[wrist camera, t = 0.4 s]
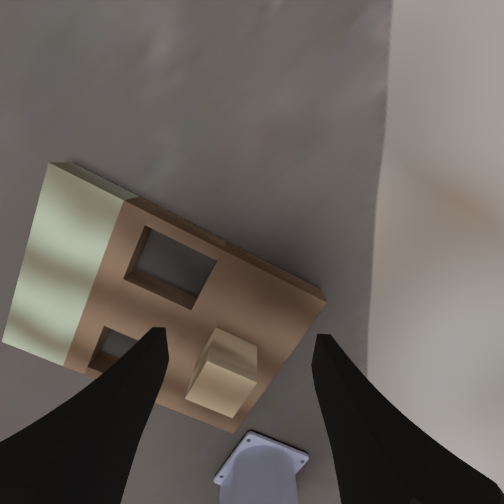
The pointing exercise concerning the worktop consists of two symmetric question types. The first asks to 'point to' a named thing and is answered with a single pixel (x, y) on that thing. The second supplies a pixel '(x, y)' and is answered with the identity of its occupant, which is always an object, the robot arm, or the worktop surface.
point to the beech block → (224, 373)
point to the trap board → (147, 289)
